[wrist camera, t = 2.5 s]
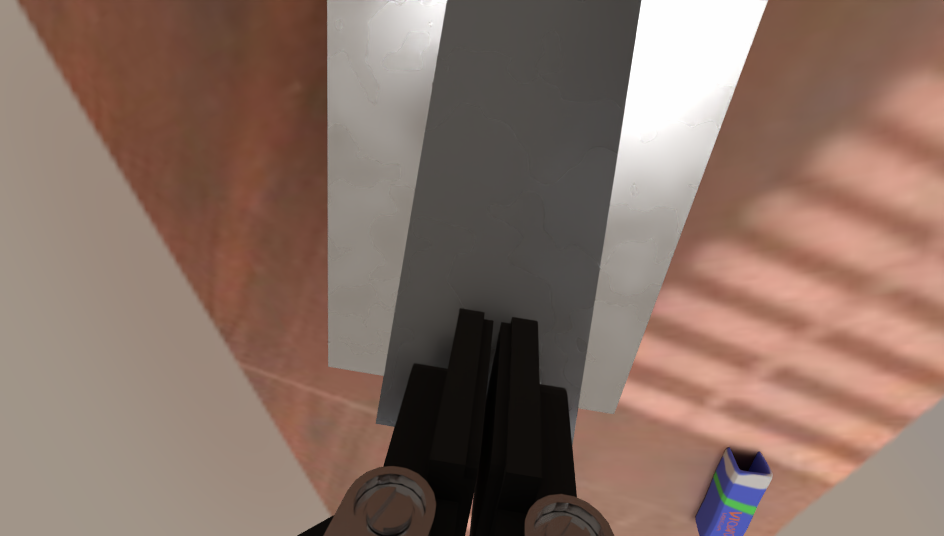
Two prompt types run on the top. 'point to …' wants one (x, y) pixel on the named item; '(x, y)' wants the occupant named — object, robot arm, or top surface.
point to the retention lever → (514, 182)
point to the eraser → (733, 497)
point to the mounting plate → (634, 188)
